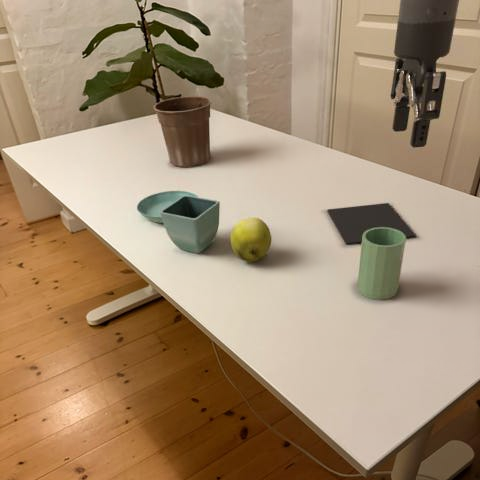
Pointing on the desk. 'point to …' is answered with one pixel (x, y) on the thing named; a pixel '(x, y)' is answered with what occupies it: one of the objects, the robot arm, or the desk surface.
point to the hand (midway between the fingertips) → (407, 138)
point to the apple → (250, 239)
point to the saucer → (159, 204)
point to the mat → (366, 221)
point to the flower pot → (192, 222)
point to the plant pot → (185, 129)
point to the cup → (380, 262)
